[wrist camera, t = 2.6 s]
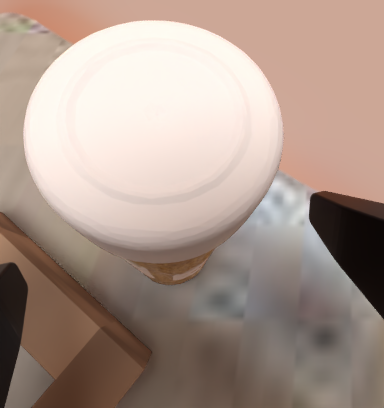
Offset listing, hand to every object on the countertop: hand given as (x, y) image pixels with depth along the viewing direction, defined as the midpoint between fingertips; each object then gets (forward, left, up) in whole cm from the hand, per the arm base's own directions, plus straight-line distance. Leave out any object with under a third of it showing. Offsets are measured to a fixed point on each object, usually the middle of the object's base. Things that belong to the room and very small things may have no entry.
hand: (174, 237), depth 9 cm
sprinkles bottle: (+1, -1, -9) cm, 9 cm away
